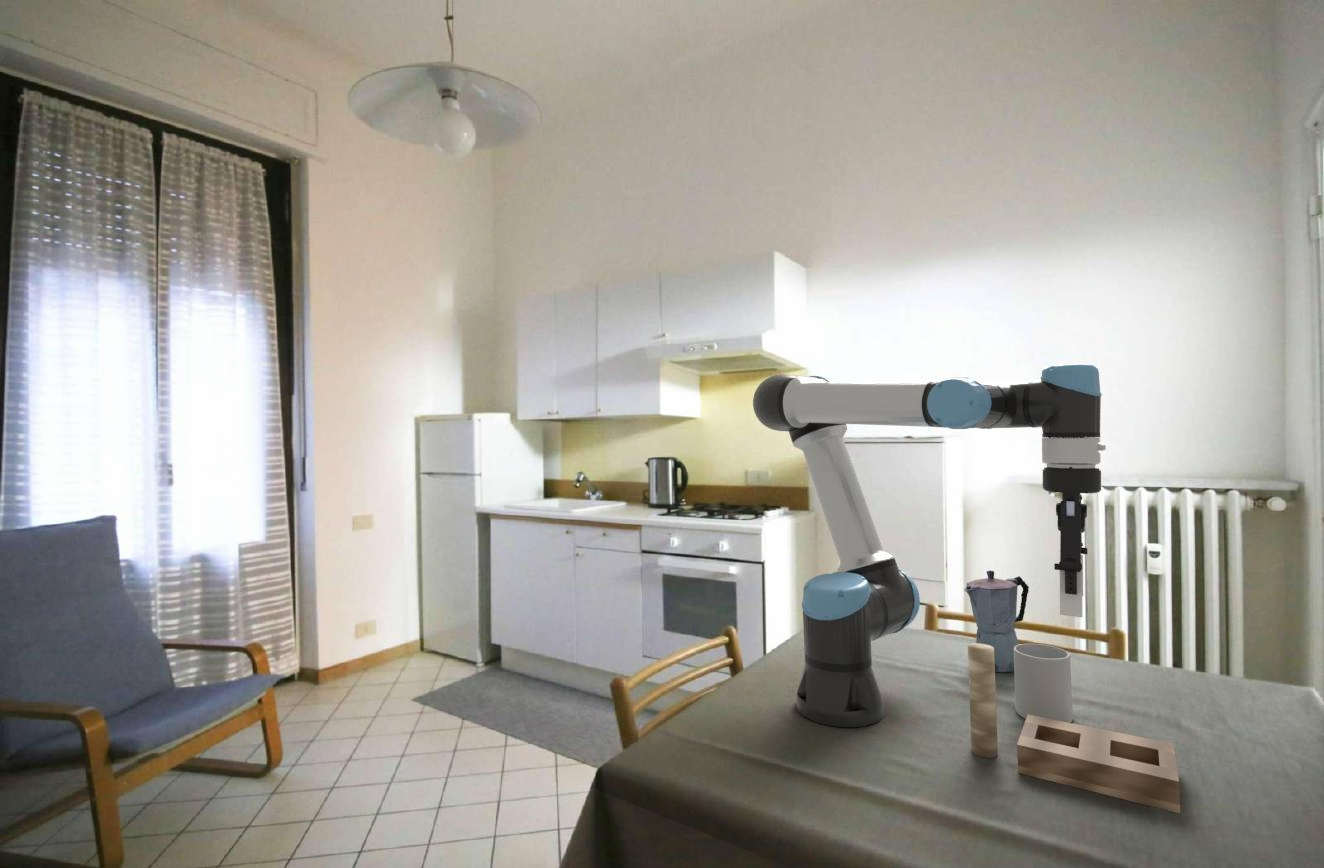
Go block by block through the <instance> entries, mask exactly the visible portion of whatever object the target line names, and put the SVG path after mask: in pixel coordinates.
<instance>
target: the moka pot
mask: <svg viewBox="0 0 1324 868" xmlns="http://www.w3.org/2000/svg"><path fill="white" fill-rule="evenodd" d="M986 575H987V578H985V577H984V578H978V579H974V580H971V581H969V582H966V586H965V588H964V592H966V593H967V595H968V597H969V602H970V605H971V610H972V615H973V616H972V617H973V618H974V619H975V624H976V628H977V629H976V638H975V639H976V642H975V643H980V644H986V645H990V646H992V647H993V648H994V663H995V673H1014V647H1015V646H1017V645H1020V644H1019V640H1018V637H1017V632H1016V630H1015V629H1016V626H1015V623H1019V622H1022V621H1024V615H1025V610H1026V606H1027V600H1028V599H1027V598H1028V594H1029V588H1030V587H1029V585H1028V584H1027V583H1026V581H1024V580H1023V578H1022V577H1021V576H1016V577H1014V578H1006V579H1000V578H995V571H994V570H986ZM1019 586H1021V588H1022V592H1021V593H1020V595H1021V601H1020V609H1019V613H1018V614H1017V610H1018V609H1017V606H1018V605H1017V603H1018V587H1019Z"/></svg>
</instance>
